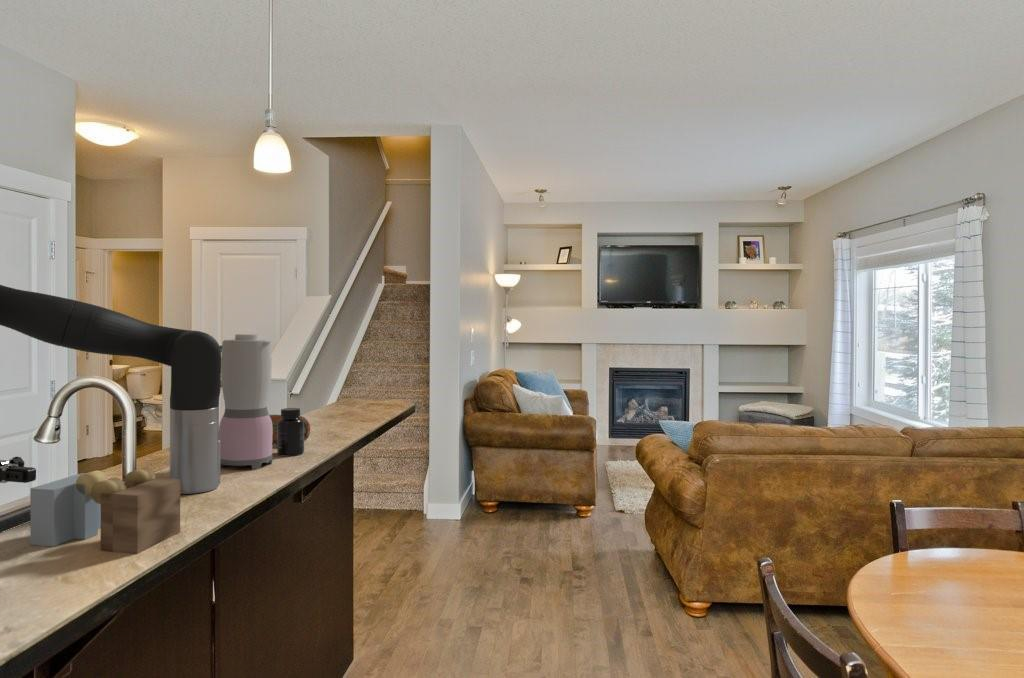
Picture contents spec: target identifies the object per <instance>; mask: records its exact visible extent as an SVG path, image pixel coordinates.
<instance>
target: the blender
mask: <svg viewBox="0 0 1024 678" xmlns="http://www.w3.org/2000/svg"><path fill="white" fill-rule="evenodd" d="M219 346H220V350H221V391H222V398H223V400H224V412H223V415H222V418H221V419H220V420H219V440H220V442H221V457H220V468H223V465H226V466H240V467H241V466H251V470H253V469H254V470H258V469H257V468H260V469H261V468H262V464H263V463H268V464H269V465H271V464H270V463H272V464H273V454H274V453H273V444H272V435H273V427H272V420H271V418H270V416H269V415H270V414H269V411H268V401H269V396H270V391H271V385H272V343H271V341H270V340H269V339H259V334H255V333H253V334H252V333H251V334H250V333H242V334H241V333H240V334H237V333H236V334H235V335H234V339H223V340H222V345H219Z"/></svg>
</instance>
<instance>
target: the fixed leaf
mask: <svg viewBox="0 0 1024 678" xmlns="http://www.w3.org/2000/svg"><path fill="white" fill-rule="evenodd" d="M156 476H157V475H156V474H155V471H154V470H153V469H152V468H150V467H148V466H147V467H141V468H139V469H135V470H132V471H129V472H128V473H127V474H126V475H125V477H124V480H122V479H120V478H119V477H111V478H107V480H104V481H101V482H98V483H96V484H94V485H93V486H92V488H91V497H92V499H93V500H94V501H95V502H96V503H98V504H101V527H100V551H101V552H116V553H124V554H125V553H128V554H139V553H141V552H143V551H145V550H148V549H149V548H151V547H153V546H156V545H157V544H159V543H161V542H163V541H165V540H168V539H169V538H171V537H173V536H175V535H177V534H179V533H180V532H181V494H180V479H170V478H167V477H166V478H163V477H156Z"/></svg>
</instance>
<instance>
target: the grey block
mask: <svg viewBox="0 0 1024 678" xmlns="http://www.w3.org/2000/svg"><path fill="white" fill-rule="evenodd" d="M107 479H108V478H107V476H106V474H105V473H104V472H103V471H101V470H94V471H89V472H87V473H85V472H82V473H78V474H73V475H70V476H67V477H64V478H61V479H57V480H53V481H51V482H48V483H43V484H41V485H40V484H39V485H37V486H35V487H30V497H29V499H30V500H29V501H30V504H29V505H30V512H29V513H30V514H29V515H30V546H40V547H52V548H53V547H54V546H55V547H57V546H60V545H62V544H64V543H67V542H69V541H71V540H84V541H85V540H87V539H90V538H92V537H94V536H97V535H98V534H99V531H98V530H99V529H101V504H98V503H96V502H95V501H94V500H93V499H92V497H91V488H92V486H93V485H94V484H96V483H98V482H101V481H104V480H107ZM61 543H62V544H61ZM59 544H60V545H59Z"/></svg>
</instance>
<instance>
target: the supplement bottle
mask: <svg viewBox="0 0 1024 678" xmlns="http://www.w3.org/2000/svg"><path fill="white" fill-rule="evenodd" d="M280 415H281V417H282V419H280V420H279V421H278V422H277V444H276V451H277V452H276V453H277V455H278V454H279V456H281V455H295V456H299V455H298V454H300V455H303V454H304V453H305V441H304V421H303V420H302V419H301V418H299V416H301V408H298V407H285V408H282V409H280Z"/></svg>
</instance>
